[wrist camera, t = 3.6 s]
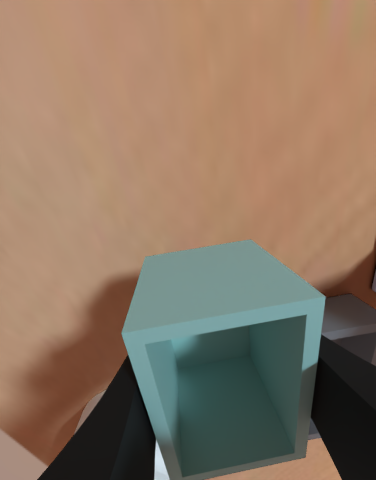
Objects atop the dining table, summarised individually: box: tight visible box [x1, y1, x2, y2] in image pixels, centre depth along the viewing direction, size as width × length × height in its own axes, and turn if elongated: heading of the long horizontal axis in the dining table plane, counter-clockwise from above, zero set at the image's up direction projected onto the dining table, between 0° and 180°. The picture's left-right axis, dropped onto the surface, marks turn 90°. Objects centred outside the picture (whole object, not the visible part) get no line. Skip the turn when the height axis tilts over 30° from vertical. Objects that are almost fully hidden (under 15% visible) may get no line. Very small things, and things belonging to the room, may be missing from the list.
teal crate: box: [121, 239, 326, 480], centre depth 9 cm, size 6×8×5 cm
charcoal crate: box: [308, 294, 376, 440], centre depth 21 cm, size 16×16×4 cm
